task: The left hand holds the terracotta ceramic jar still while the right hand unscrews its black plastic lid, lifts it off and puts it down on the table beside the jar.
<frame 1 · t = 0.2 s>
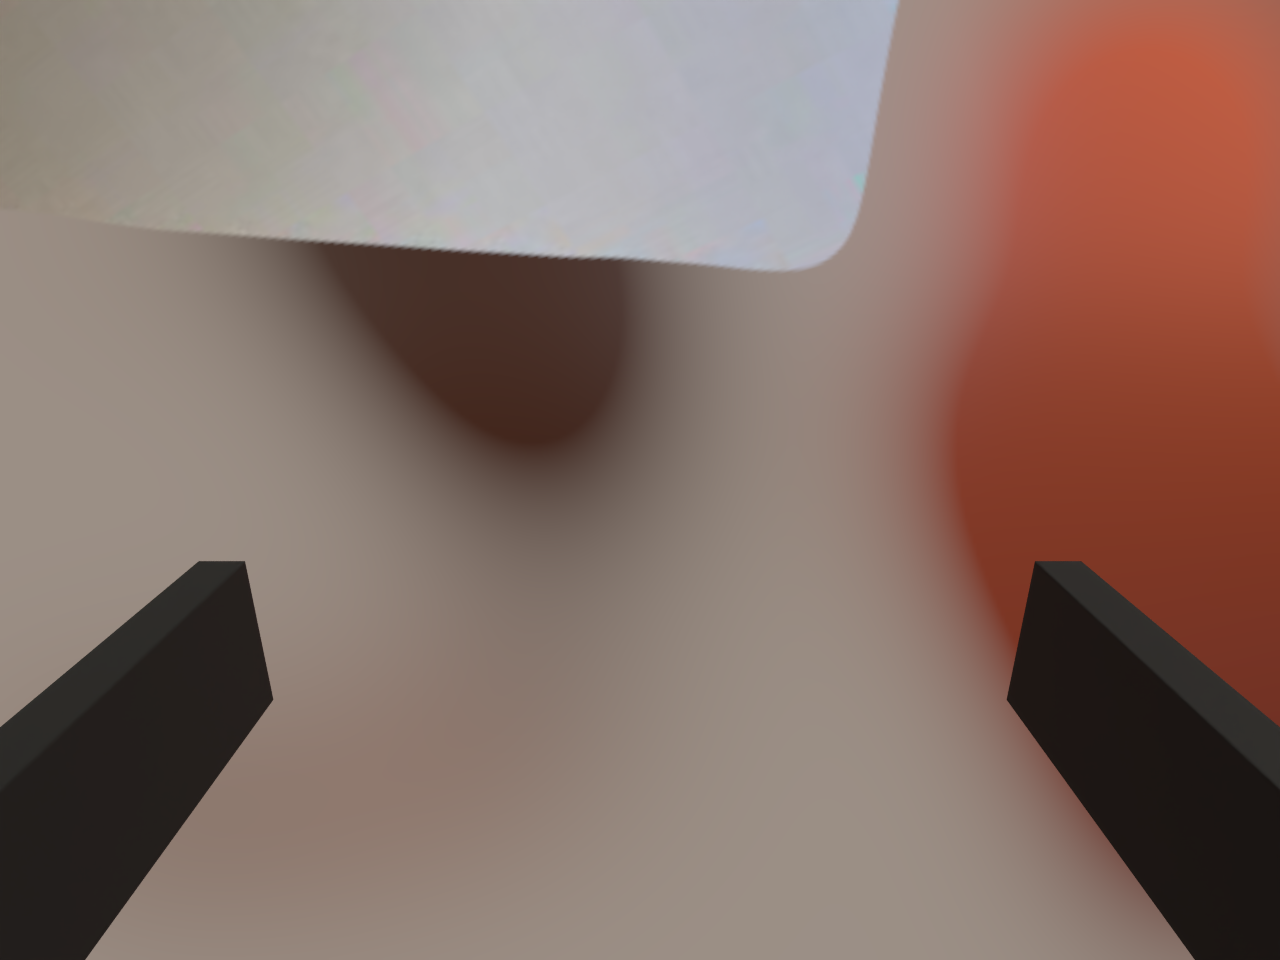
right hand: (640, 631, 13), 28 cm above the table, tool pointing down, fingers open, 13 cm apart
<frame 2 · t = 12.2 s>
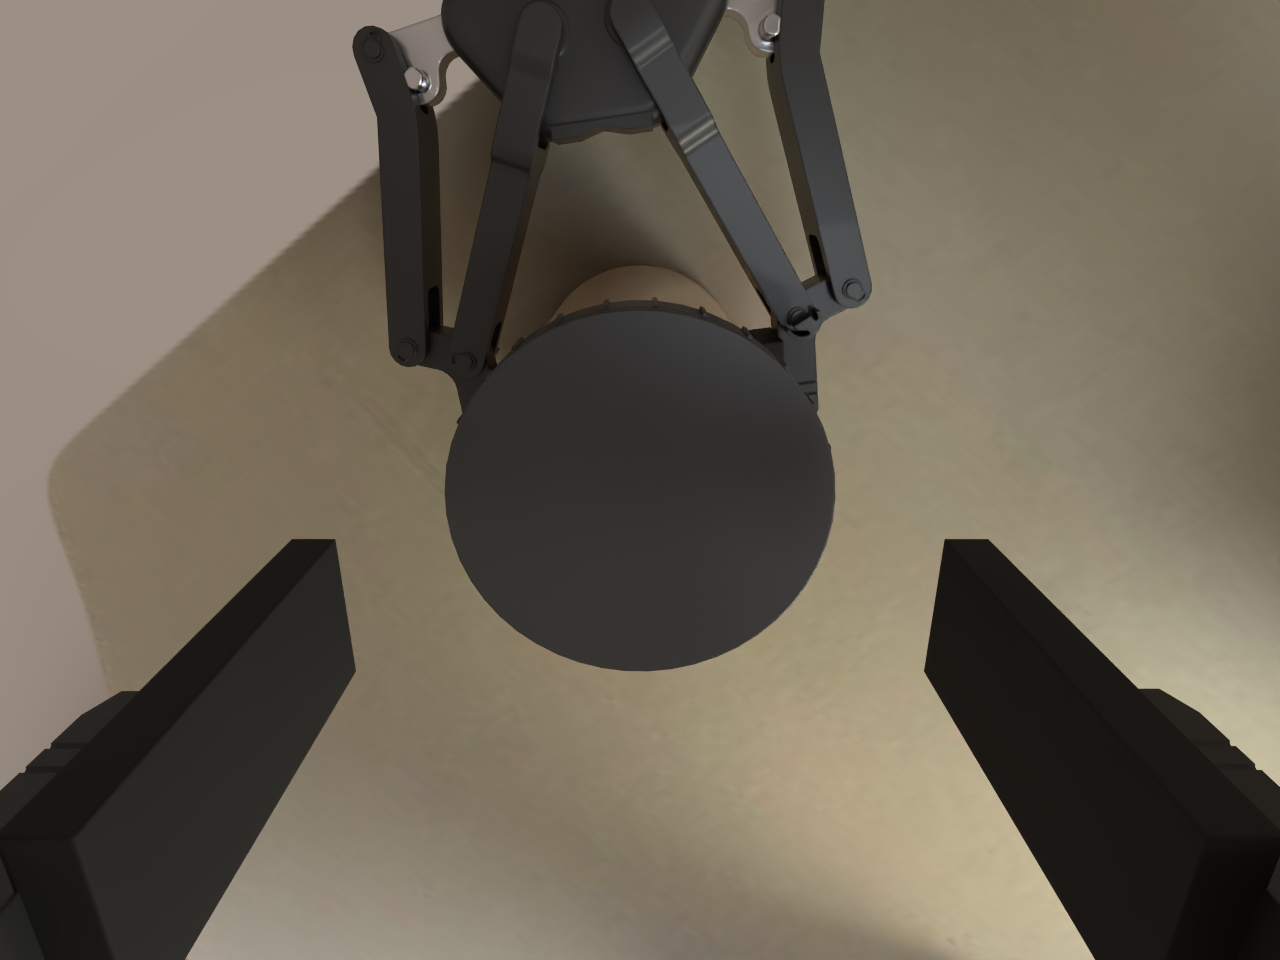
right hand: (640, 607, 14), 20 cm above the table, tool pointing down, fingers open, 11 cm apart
left hand: (656, 523, 28), fingers closed on jar, 8 cm apart
jar: (640, 366, 33), on the table, touching left hand
lid: (640, 501, 18), point 15 cm above the table, screwed on, not yet turned
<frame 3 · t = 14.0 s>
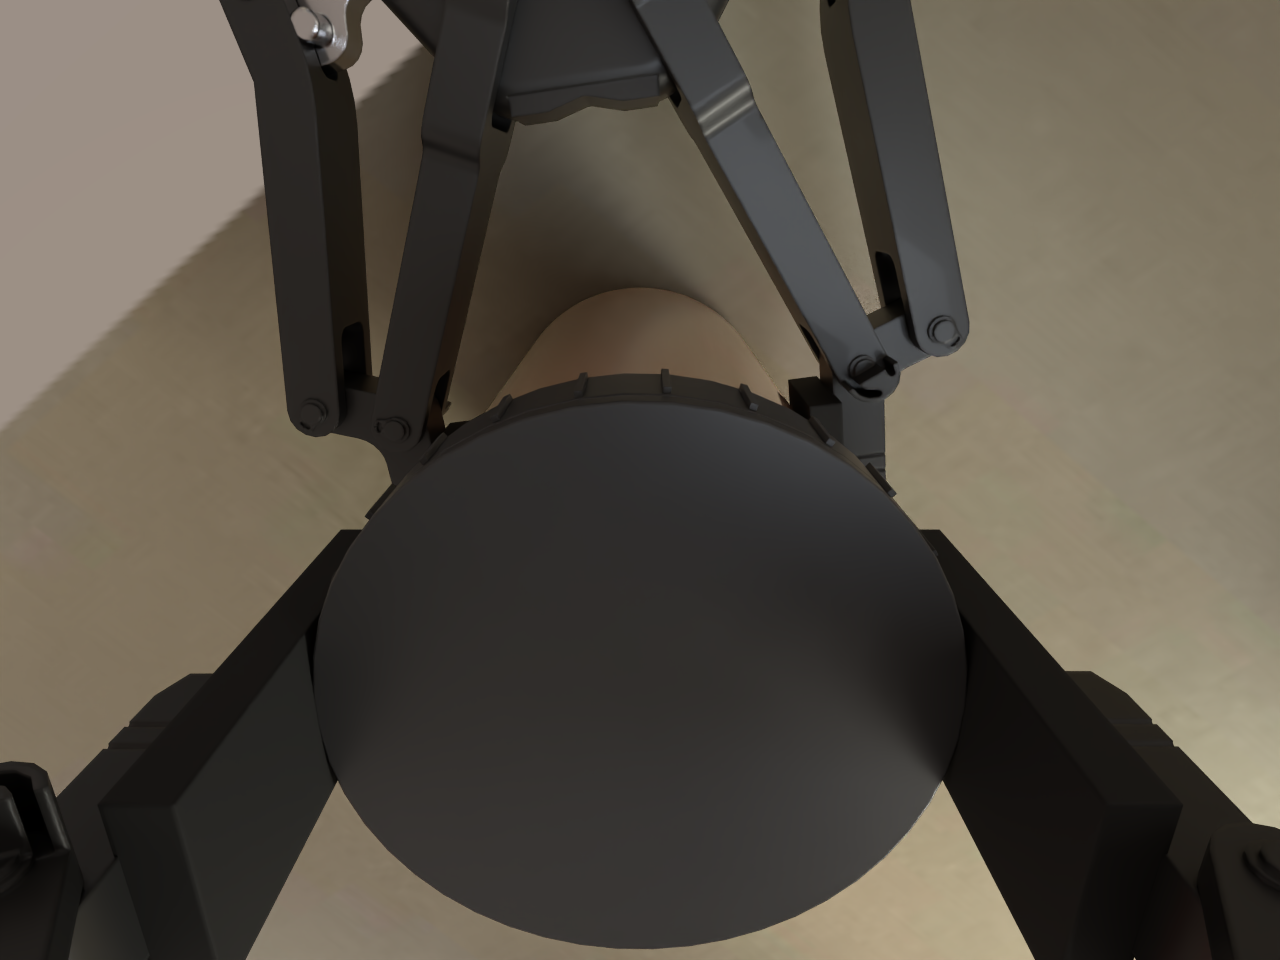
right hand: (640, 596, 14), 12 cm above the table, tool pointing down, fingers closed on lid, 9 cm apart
left hand: (662, 635, 21), fingers closed on jar, 8 cm apart
jar: (640, 415, 25), on the table, touching left hand
lid: (639, 701, 11), point 15 cm above the table, screwed on, not yet turned, touching right hand
when the right hand's fingers open (12 cm above the table, at t = 15.7 s): lid stays where it is, point 15 cm above the table.
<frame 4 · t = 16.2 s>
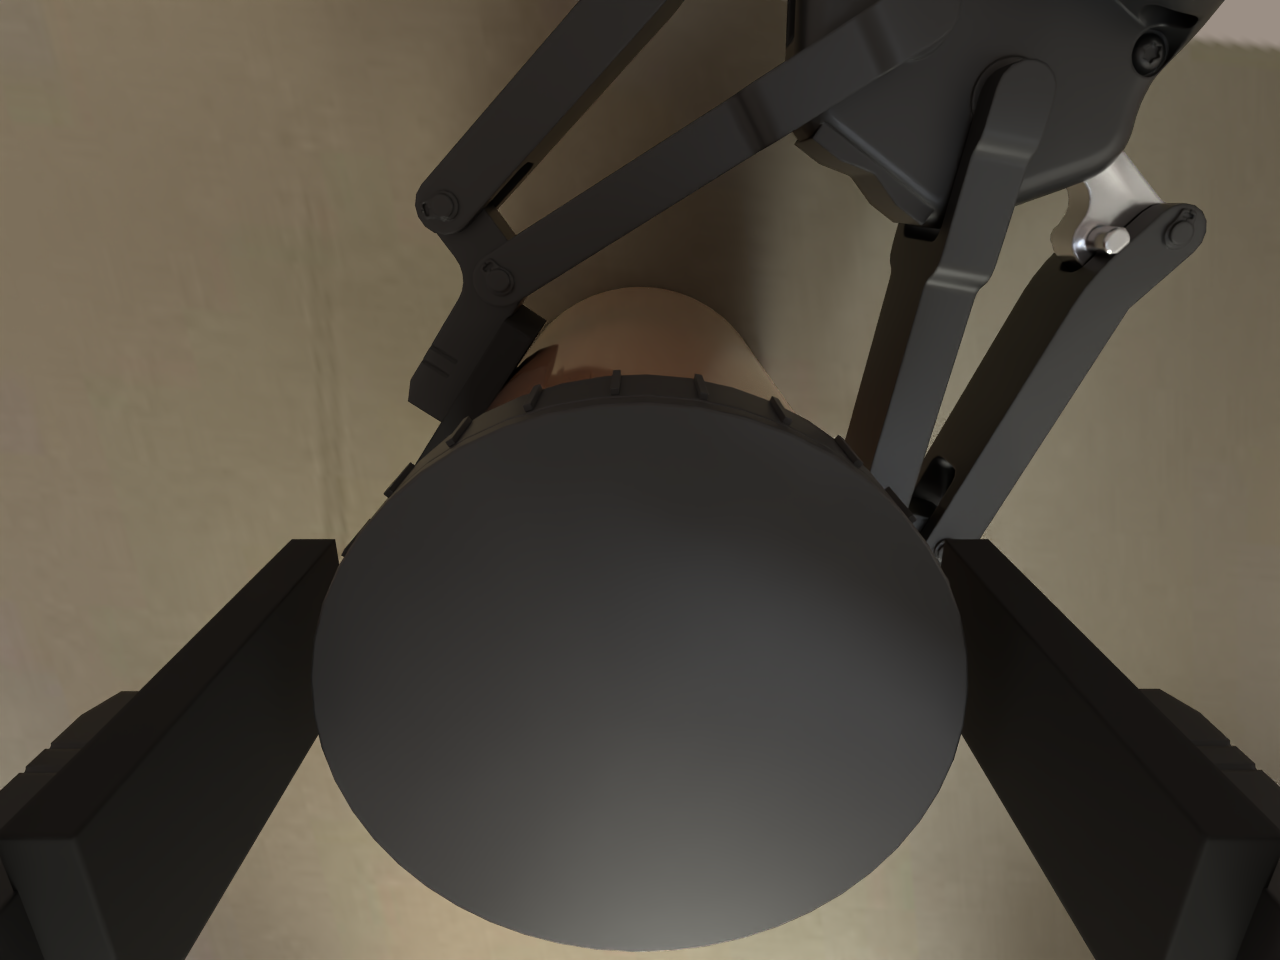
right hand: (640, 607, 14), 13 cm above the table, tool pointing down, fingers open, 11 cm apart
left hand: (545, 607, 21), fingers closed on jar, 8 cm apart
jar: (639, 414, 26), on the table, touching left hand
lid: (639, 704, 11), point 15 cm above the table, turned 105° so far, risen 0.3 cm, still on its thread
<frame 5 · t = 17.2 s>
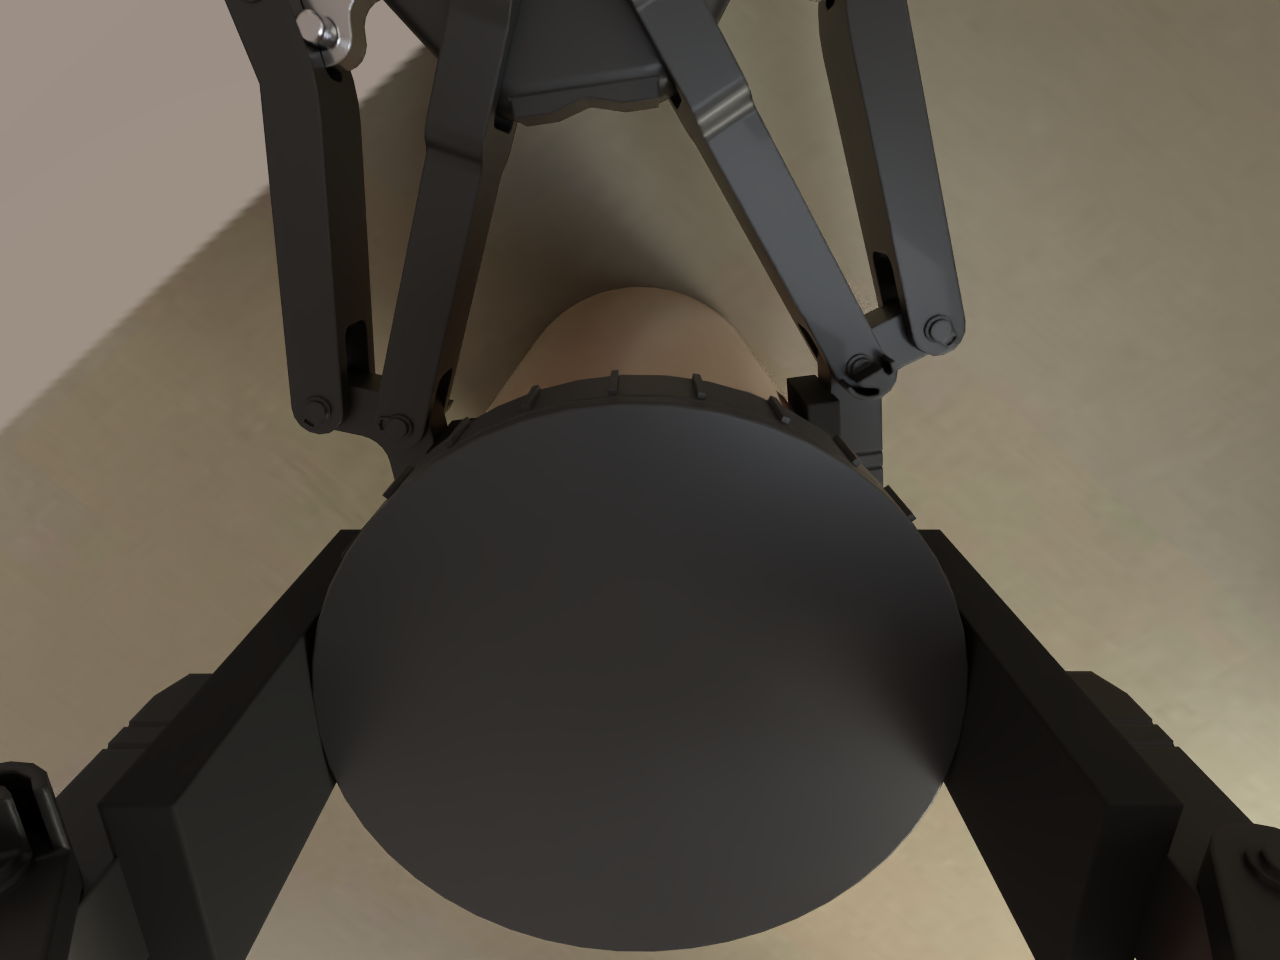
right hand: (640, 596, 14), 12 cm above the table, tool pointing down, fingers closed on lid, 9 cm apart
left hand: (661, 631, 21), fingers closed on jar, 8 cm apart
jar: (640, 414, 26), on the table, touching left hand
lid: (639, 703, 11), point 15 cm above the table, turned 105° so far, risen 0.3 cm, still on its thread, touching right hand
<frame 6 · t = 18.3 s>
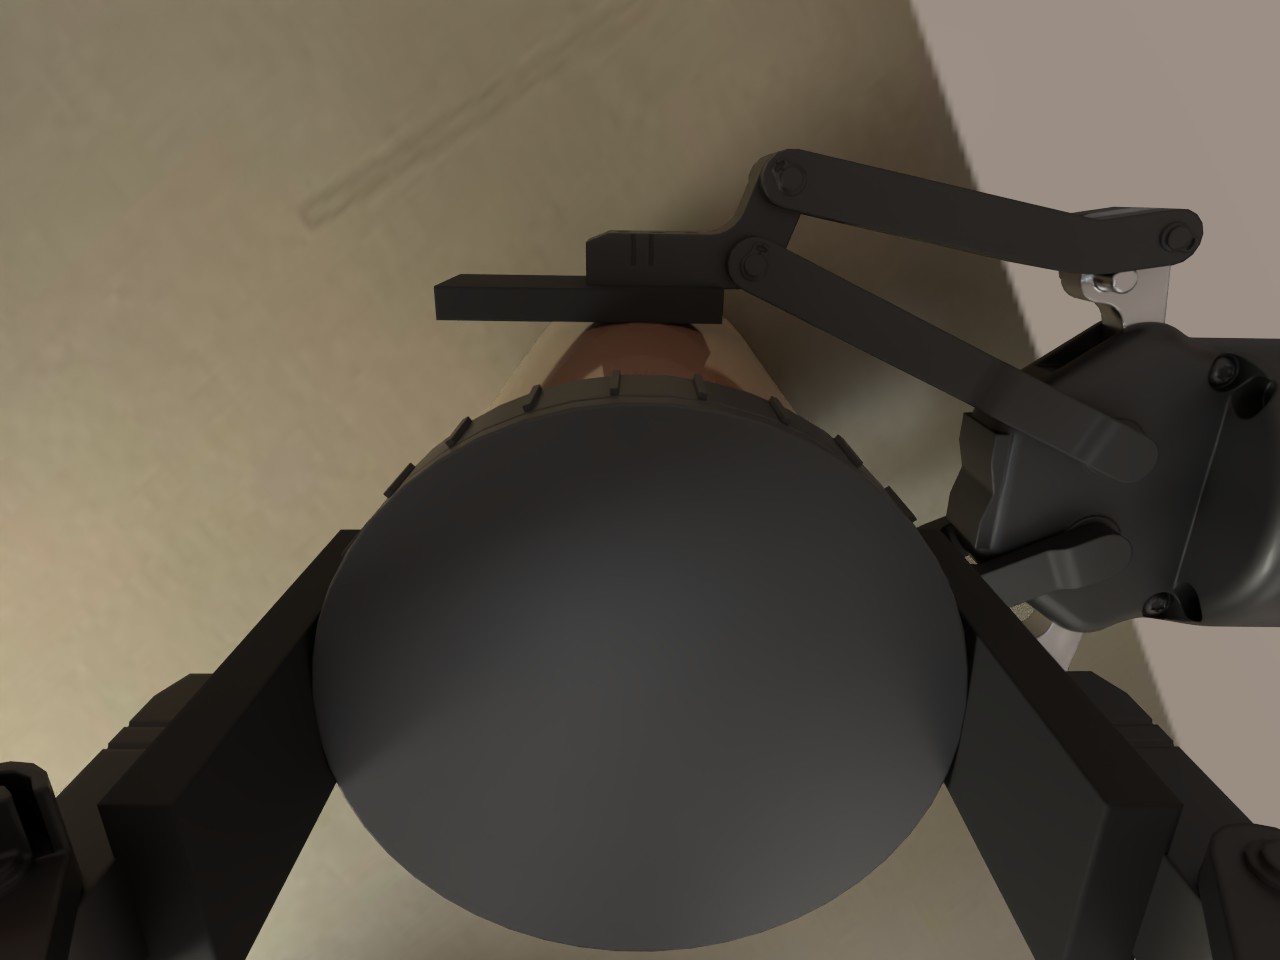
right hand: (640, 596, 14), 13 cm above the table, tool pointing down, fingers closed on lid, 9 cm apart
jar: (640, 412, 26), on the table, touching left hand
lid: (639, 703, 11), point 16 cm above the table, off its thread, touching right hand
when the right hand's fingers open (0 cm above the table, at t = 23.4 s): lid drops 2 cm, point 1 cm above the table.
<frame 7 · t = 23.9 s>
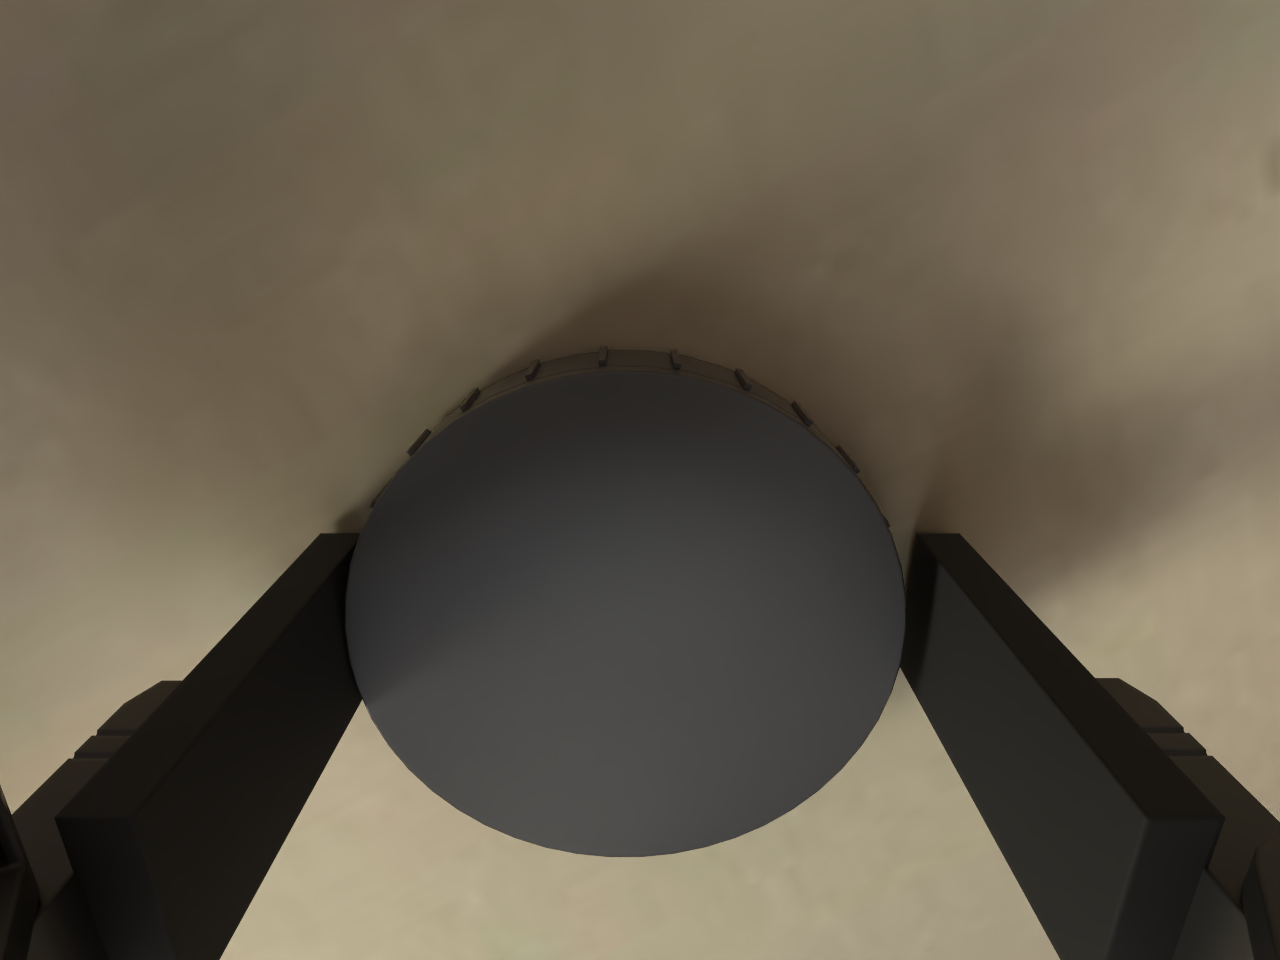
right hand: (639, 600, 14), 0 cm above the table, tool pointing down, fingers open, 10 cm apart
lid: (627, 634, 13), point 1 cm above the table, off its thread
when the left hand's fingers open (6 cm above the table, at t = 25.1 s): jar stays where it is, on the table.
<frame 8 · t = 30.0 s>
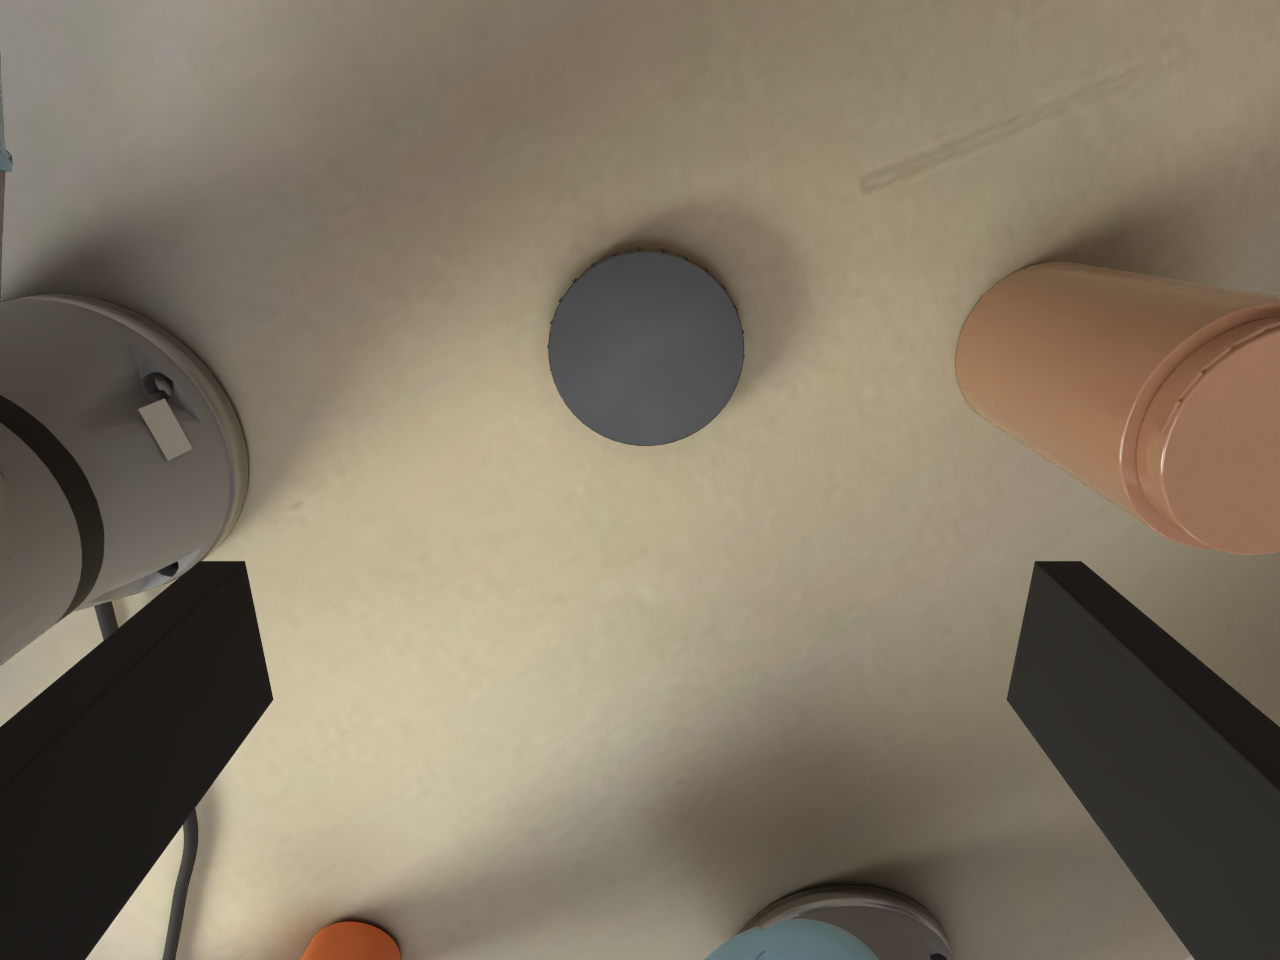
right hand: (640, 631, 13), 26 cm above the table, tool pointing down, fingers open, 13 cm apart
cup with straw: (357, 949, 52), on the table
jar: (1041, 349, 37), on the table
lid: (646, 351, 36), point 1 cm above the table, off its thread
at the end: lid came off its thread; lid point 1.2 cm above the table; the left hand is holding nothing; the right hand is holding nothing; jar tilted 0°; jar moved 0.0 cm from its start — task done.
